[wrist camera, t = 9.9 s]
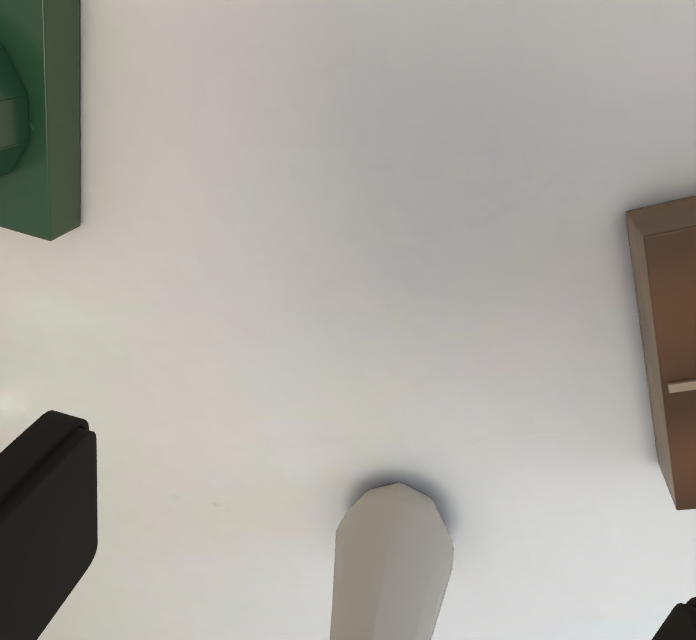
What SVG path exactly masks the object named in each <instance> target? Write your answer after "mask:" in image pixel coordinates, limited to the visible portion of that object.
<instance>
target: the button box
mask: <svg viewBox="0 0 696 640" xmlns="http://www.w3.org/2000/svg"><path fill="white" fill-rule="evenodd" d="M79 226H80V0H0V227H4V228H7V229H10V230H14V231H17V232H21V233H24V234H28V235H31V236H35V237H38V238H41V239H45V240H48V241H52V240H54V239H56V238H58V237H59V236H61V235H63V234H65V233H67V232H69V231H71V230H73V229H75V228H77V227H79Z"/></svg>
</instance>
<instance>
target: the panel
mask: <svg viewBox="0 0 696 640" xmlns="http://www.w3.org/2000/svg"><path fill="white" fill-rule="evenodd" d="M625 214H626V222H627V229H628V237H629V244H630V252H631V259H632V267H633V275H634V282H635V290H636V297H637V305H638V312H639V320H640V328H641V335H642V343H643V350H644V358H645V365H646V373H647V381H648V388H649V396H650V403H651V411H652V419H653V426H654V434H655V441H656V449H657V456H658V463H659V466H660V468H661V471H662V474H663V476H664V479H665V481H666V484H667V486H668V489H669V492H670V494H671V497H672V499H673V502H674V504H675V507H676V509H677V510H686V509H696V196H693V197H688V198H684V199H679V200H675V201H670V202H666V203H661V204H657V205H653V206H648V207H644V208H639V209H635V210H630V211H627V212H626V213H625Z"/></svg>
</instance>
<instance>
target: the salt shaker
mask: <svg viewBox="0 0 696 640" xmlns="http://www.w3.org/2000/svg"><path fill="white" fill-rule="evenodd" d="M453 550H454V548H453V542H452V538H451V536H450V534H449V532H448V530H447V528H446V526H445V524H444V522H443V520H442V518H441V516H440V514H439V512H438V510H437V508H436V506H435V504H434V502H433V500H432V498H430V497H429V496H427V495H425V494H423V493H421V492H419V491H417V490H415V489H413V488H411V487H409V486H407V485H405V484H403V483H401V482H399V483H395V484H390V485H386V486H382V487H378V488H374V489H370V490H368V491H367V492H366V493H365V494H364V495H363V496H362V497H361V498H360V499H359V500H358V501H357V502H356V503H355V504H354V505H353V506H352V507H351V508H350V509H349V510H348V512H347V513H346V515H345V516H344V518H343V519H342V521H341V522H340V524H339V526H338V528H337V530H336V542H335V562H334V582H333V602H332V616H331V629H330V640H431V638H432V635H433V632H434V628H435V625H436V621H437V618H438V615H439V611H440V608H441V605H442V601H443V598H444V595H445V591H446V588H447V585H448V581H449V578H450V575H451V571H452V567H453Z"/></svg>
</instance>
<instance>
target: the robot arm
mask: <svg viewBox="0 0 696 640" xmlns="http://www.w3.org/2000/svg"><path fill="white" fill-rule="evenodd" d="M97 543H98V538H97V446H96V434H95V432H93V431H89V426H88V423H87V421H86V420H84V419H81V418H77V417H74V416H71V415H67V414H64V413H60V412H57V411H53V410H51V411H47V412H46V413H45V414H43V415H42V416H41V417H40V418H39V419H37V420H36V421H35V422H34V423H33V424H32V425H31V426H30V427H29V428H27V429H26V430H25V431H24V432H23V433H22V434H21V435H20V436H19V437H17V438H16V439H15V440H14V441H13V442H12V443H11V444H10V445H9V446H7V447H6V448H5V449H4V450H3V451H2V452H1V453H0V640H37V639H38V637H39V636H40V635H41V633H42V632H43V630H44V629H45V628H46V626H47V625H48V623H49V622H50V621H51V619H52V618H53V616H54V615H55V614H56V612H57V611H58V609H59V608H60V607H61V605H62V604H63V602H64V601H65V600H66V598H67V597H68V595H69V594H70V593H71V591H72V590H73V588H74V587H75V586H76V584H77V583H78V581H79V580H80V579H81V577H82V576H83V575H84V573H85V572H86V570H87V569H88V567H89V566H90V564H91V562H92V560H93V558H94V556H95V553H96V550H97ZM652 640H696V597H694V598H691V599H690V600H689V601H688V602H687V603H686V604H682V603H679V604H677V605H676V606H675V607H674V608H673V610H672V611H671V613H670V614H669V615H668V617H667V618H666V620H665V621H664V623H663V624H662V626H661V627H660V629H659V630H658V631H657V633H656V634H655V636H654V637H653V639H652Z"/></svg>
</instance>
